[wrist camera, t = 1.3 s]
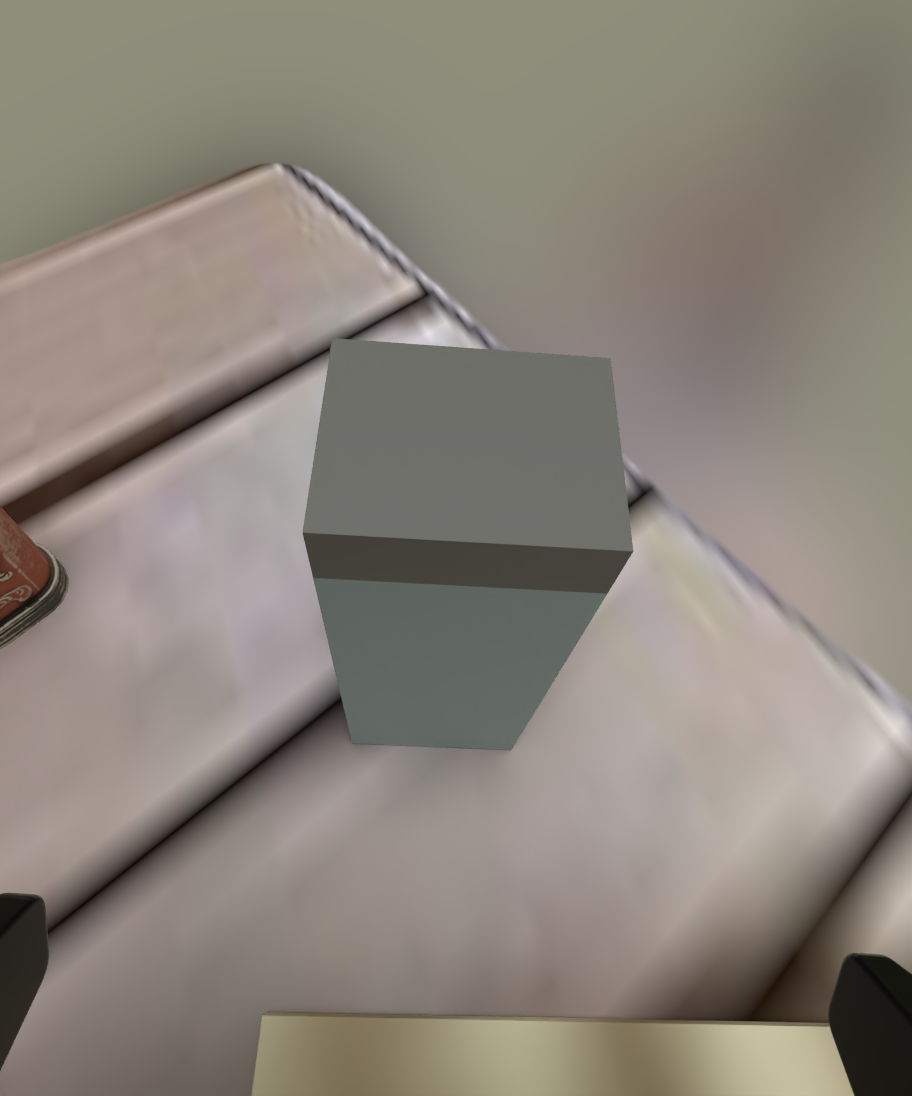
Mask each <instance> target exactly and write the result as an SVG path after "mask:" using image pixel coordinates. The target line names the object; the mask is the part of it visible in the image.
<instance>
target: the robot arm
mask: <svg viewBox="0 0 912 1096" xmlns="http://www.w3.org/2000/svg"><path fill="white" fill-rule="evenodd" d="M48 959H49V947H48V934H47V921H46V908H45V903H44V901H43V899H42V898H41V897H40V896H38V895H34V894H19V893H3V894H0V1070H1V1068H2V1066H3V1064H4V1062H5V1059H6V1057H7V1055H8V1053H9V1051H10V1049H11V1047H12V1045H13V1042H14V1040H15V1038H16V1036H17V1034H18V1032H19V1030H20V1027H21V1025H22V1023H23V1021H24V1019H25V1017H26V1015H27V1013H28V1010H29V1008H30V1006H31V1004H32V1002H33V1000H34V998H35V996H36V993H37V991H38V989H39V987H40V985H41V983H42V980H43V978H44V975H45V972H46V969H47V965H48ZM828 1017H829V1025H830V1029H831V1033H832V1036H833V1039H834V1042H835V1044H836V1047H837V1050H838V1053H839V1055H840V1058H841V1061H842V1064H843V1066H844V1069H845V1072H846V1075H847V1077H848V1080H849V1083H850V1086H851V1088H852V1091H853V1094H854V1096H912V974H911V973H909V972H908V971H907V970H905V969H904V968H903V967H901V966H900V965H899V964H897V963H896V962H895V961H893V960H892V959H890V958H888V957H886V956H883V955H878V954H865V953H851V954H849V955H847V956H846V957H845V958H844V960H843V962H842V965H841V969H840V972H839V975H838V978H837V982H836V985H835V988H834V991H833V995H832V998H831V1001H830V1005H829V1014H828Z"/></svg>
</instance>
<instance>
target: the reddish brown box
mask: <svg viewBox="0 0 912 1096" xmlns="http://www.w3.org/2000/svg"><path fill="white" fill-rule="evenodd" d="M67 590H68V577H67V574H66V571H65V568H64V567H63V566H62V565H61V564H60V563H59V561H58V560H57V559H56V558H55V557H54V556H53V555H52V554H51V553H50V551H49V550H48V549H47V548H45V547H43V546H41V545H39V544H37V543H34V542H33V541H32V540H31V539H30V538H29V537H28V536H27V535H26V534H25V533H24V532H23V531H22V529H21V528H20V527H19V526H18V525H17V524H16V523H15V522H14V521H13V520H12V519H11V518H10V516H9V515H8V514H7V513H6V512H5V511H4V510H3V509H2V508H1V507H0V649H1V648H3V647H5V646H6V645H8V644H10V643H11V642H12V641H14V640H15V639H16V638H18V637H19V636H21V635H22V634H23V633H25V632H26V631H27V630H29V629H30V628H31V627H33V626H34V625H35V624H37V623H38V622H39V621H41V620H42V619H43V618H45V617H46V616H47V615H49V614H50V613H51V612H53V611H54V610H55V609H56V608H57V607H58V606H59V605H60V604H61V603H62V601H63V599H64V597H65V595H66V593H67Z"/></svg>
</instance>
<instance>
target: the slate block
mask: <svg viewBox="0 0 912 1096" xmlns="http://www.w3.org/2000/svg"><path fill="white" fill-rule="evenodd" d="M303 536H304V541H305V545H306V549H307V553H308V558H309V562H310V566H311V570H312V575H313V579H314V583H315V587H316V592H317V596H318V600H319V604H320V609H321V613H322V617H323V621H324V626H325V630H326V634H327V638H328V643H329V647H330V651H331V655H332V660H333V664H334V668H335V672H336V677H337V681H338V685H339V689H340V694H341V698H342V702H343V706H344V711H345V715H346V719H347V723H348V728H349V732H350V736H351V741H352V744H373V745H398V746H422V747H446V748H471V749H495V750H511V749H512V748H513V746H514V745H515V743H516V741H517V740H518V738H519V736H520V735H521V733H522V732H523V730H524V728H525V727H526V725H527V723H528V722H529V720H530V719H531V717H532V715H533V714H534V712H535V710H536V709H537V707H538V706H539V704H540V702H541V701H542V699H543V697H544V696H545V694H546V693H547V691H548V689H549V688H550V686H551V684H552V683H553V681H554V679H555V678H556V676H557V675H558V673H559V671H560V670H561V668H562V666H563V665H564V663H565V662H566V660H567V658H568V657H569V655H570V653H571V652H572V650H573V649H574V647H575V645H576V644H577V642H578V640H579V639H580V637H581V636H582V634H583V632H584V631H585V629H586V627H587V626H588V624H589V623H590V621H591V619H592V618H593V616H594V614H595V613H596V611H597V610H598V608H599V606H600V605H601V603H602V601H603V600H604V598H605V597H606V595H607V593H608V592H609V590H610V588H611V587H612V585H613V584H614V582H615V580H616V579H617V577H618V575H619V574H620V572H621V570H622V569H623V567H624V566H625V564H626V562H627V561H628V559H629V557H630V556H631V554H632V553H633V545H632V537H631V528H630V520H629V511H628V503H627V494H626V486H625V477H624V469H623V460H622V452H621V445H620V435H619V427H618V419H617V410H616V402H615V394H614V384H613V376H612V368H611V359H610V358H598V357H584V356H570V355H557V354H543V353H542V354H541V353H529V352H528V353H527V352H514V351H501V350H487V349H473V348H459V347H445V346H431V345H418V344H404V343H390V342H376V341H362V340H348V339H334V338H332V344H331V351H330V357H329V364H328V370H327V377H326V383H325V390H324V396H323V403H322V410H321V416H320V423H319V429H318V436H317V442H316V449H315V455H314V462H313V468H312V475H311V481H310V488H309V494H308V501H307V507H306V514H305V520H304V527H303Z"/></svg>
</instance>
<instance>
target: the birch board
mask: <svg viewBox="0 0 912 1096" xmlns="http://www.w3.org/2000/svg"><path fill="white" fill-rule="evenodd" d="M251 1096H854V1094H853V1091H852V1088H851V1086H850V1083H849V1080H848V1077H847V1075H846V1072H845V1069H844V1066H843V1064H842V1061H841V1058H840V1055H839V1053H838V1050H837V1047H836V1044H835V1042H834V1039H833V1036H832V1033H831V1029H830V1025H829V1023H805V1022H755V1021H706V1020H656V1019H607V1018H557V1017H508V1016H458V1015H408V1014H359V1013H309V1012H267V1013H266V1014H264V1015H262V1020H261V1027H260V1035H259V1042H258V1050H257V1057H256V1065H255V1072H254V1080H253V1087H252V1095H251Z"/></svg>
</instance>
